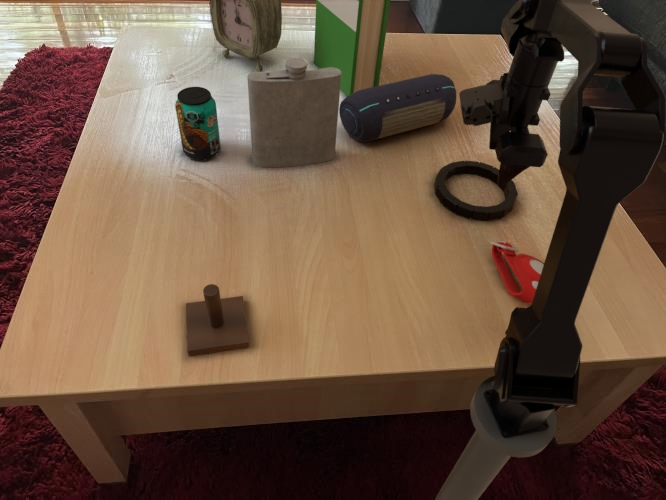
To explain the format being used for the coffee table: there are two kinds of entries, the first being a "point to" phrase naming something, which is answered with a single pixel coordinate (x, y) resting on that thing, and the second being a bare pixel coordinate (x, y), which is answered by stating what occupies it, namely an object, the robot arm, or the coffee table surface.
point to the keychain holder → (517, 270)
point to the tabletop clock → (247, 26)
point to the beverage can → (198, 123)
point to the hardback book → (351, 40)
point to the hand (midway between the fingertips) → (496, 166)
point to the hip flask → (293, 114)
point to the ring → (468, 209)
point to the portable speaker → (398, 107)
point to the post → (216, 323)
